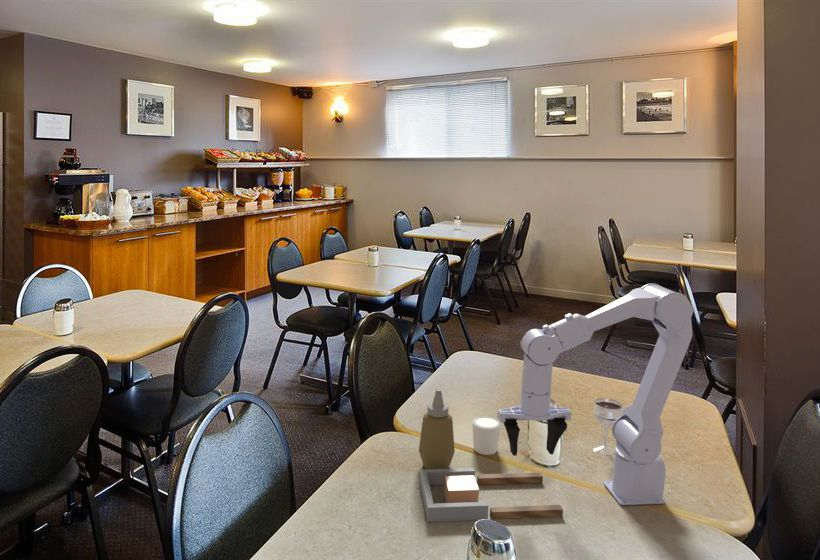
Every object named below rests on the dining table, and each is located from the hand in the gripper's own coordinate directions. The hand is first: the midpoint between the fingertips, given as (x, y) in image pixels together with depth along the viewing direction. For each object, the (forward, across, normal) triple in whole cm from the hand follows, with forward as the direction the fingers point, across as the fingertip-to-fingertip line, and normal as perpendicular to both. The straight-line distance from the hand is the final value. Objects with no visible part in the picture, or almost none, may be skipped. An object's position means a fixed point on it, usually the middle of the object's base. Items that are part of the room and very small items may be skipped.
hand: (531, 452), depth 106 cm
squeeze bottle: (+10, +18, -12) cm, 23 cm away
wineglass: (+10, -24, -17) cm, 31 cm away
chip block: (+10, +15, +1) cm, 17 cm away
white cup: (+10, +5, -19) cm, 22 cm away
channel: (+9, +3, +1) cm, 10 cm away
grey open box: (+9, +16, +1) cm, 18 cm away
